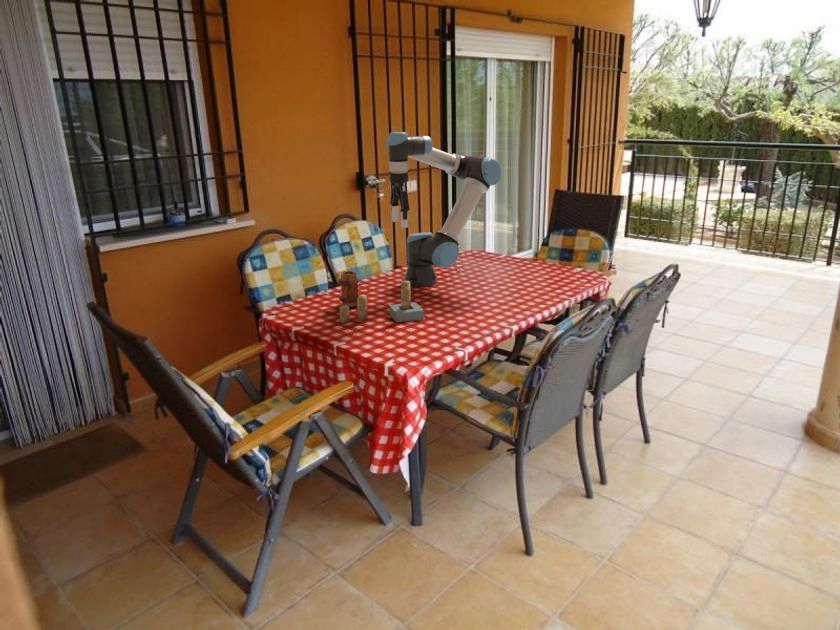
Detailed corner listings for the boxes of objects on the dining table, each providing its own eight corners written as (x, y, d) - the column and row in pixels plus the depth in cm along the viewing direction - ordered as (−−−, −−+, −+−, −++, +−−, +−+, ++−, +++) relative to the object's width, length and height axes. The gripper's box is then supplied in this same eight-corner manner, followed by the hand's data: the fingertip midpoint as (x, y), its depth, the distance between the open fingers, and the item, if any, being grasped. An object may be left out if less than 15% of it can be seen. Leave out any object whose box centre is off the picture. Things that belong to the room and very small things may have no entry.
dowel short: (348, 319, 243) (347, 304, 241) (350, 322, 239) (349, 307, 237) (339, 320, 242) (338, 305, 240) (341, 323, 238) (340, 308, 236)
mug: (337, 303, 262) (335, 268, 257) (356, 301, 265) (355, 267, 260) (346, 314, 249) (344, 277, 244) (366, 311, 252) (364, 275, 247)
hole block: (415, 310, 252) (415, 302, 251) (423, 319, 242) (423, 310, 241) (389, 313, 249) (388, 304, 248) (396, 322, 239) (396, 313, 238)
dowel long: (409, 314, 248) (408, 280, 243) (411, 317, 245) (411, 282, 240) (400, 315, 247) (399, 281, 242) (403, 318, 243) (402, 283, 239)
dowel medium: (365, 317, 245) (364, 295, 242) (368, 320, 242) (368, 298, 238) (357, 318, 243) (356, 296, 240) (359, 321, 240) (359, 299, 237)
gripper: (382, 169, 262) (383, 219, 268) (398, 175, 239) (399, 230, 246) (399, 168, 264) (400, 218, 271) (417, 174, 241) (417, 229, 248)
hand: (399, 224), depth 258 cm, fingers open, 13 cm apart
